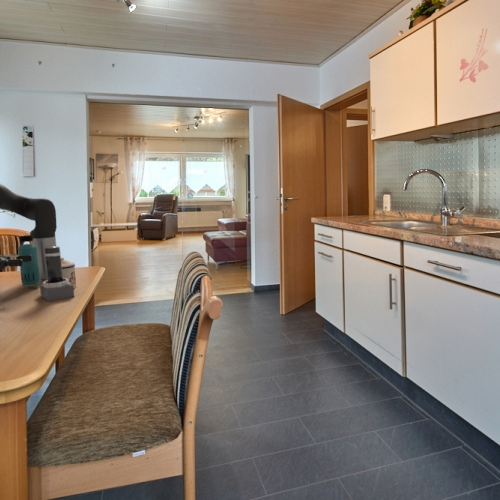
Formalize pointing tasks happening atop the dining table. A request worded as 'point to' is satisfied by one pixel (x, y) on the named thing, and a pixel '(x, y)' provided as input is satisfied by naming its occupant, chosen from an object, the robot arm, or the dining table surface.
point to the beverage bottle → (29, 269)
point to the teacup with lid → (68, 271)
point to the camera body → (56, 290)
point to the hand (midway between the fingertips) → (27, 260)
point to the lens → (53, 264)
